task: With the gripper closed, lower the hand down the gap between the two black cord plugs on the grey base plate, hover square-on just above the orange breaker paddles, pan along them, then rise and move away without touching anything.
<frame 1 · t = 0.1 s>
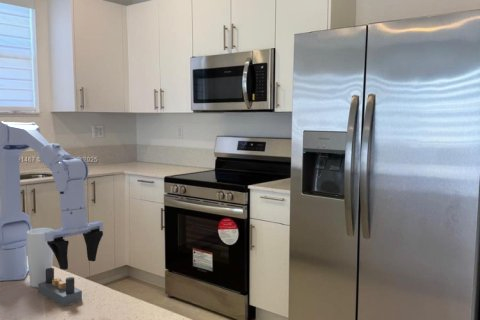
hand: (78, 264, 102), 10 cm above the counter, tool pointing down, fingers open, 7 cm apart
drinking glass: (40, 285, 115), on the counter
cord plug back: (49, 282, 111), point 2 cm above the counter, touching grey base plate
cord plug front: (70, 292, 105), point 2 cm above the counter, touching grey base plate
breaker paddles: (59, 283, 108), point 4 cm above the counter, hinge at 0.0°
grey base plate: (59, 296, 108), on the counter
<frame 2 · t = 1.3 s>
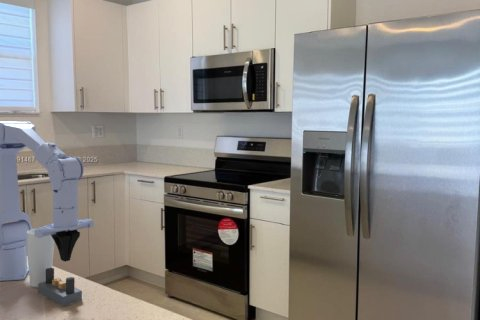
hand: (65, 260, 105), 10 cm above the counter, tool pointing down, fingers closed
nothing on the counter moved.
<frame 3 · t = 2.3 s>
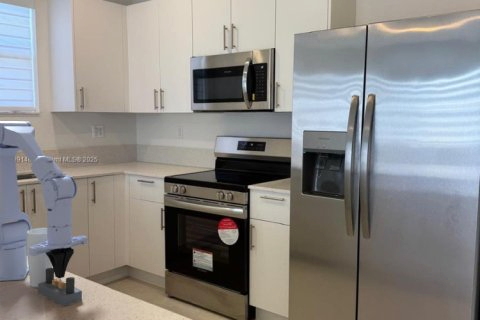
hand: (59, 276, 107), 5 cm above the counter, tool pointing down, fingers closed
nothing on the counter moved.
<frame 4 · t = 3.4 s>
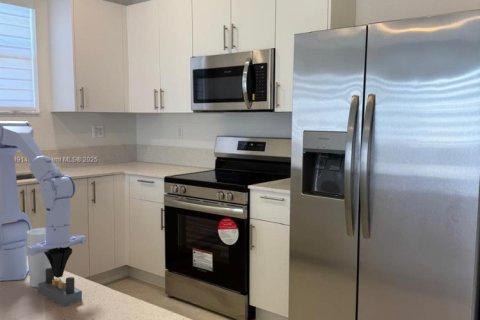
hand: (58, 276, 108), 5 cm above the counter, tool pointing down, fingers closed
nothing on the counter moved.
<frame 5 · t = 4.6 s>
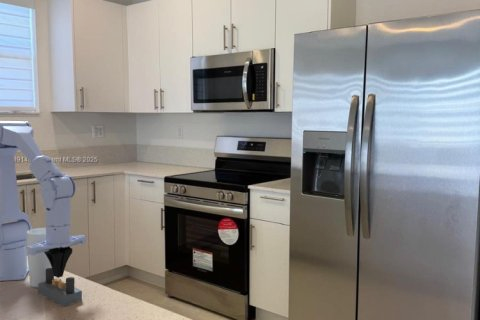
hand: (58, 276, 108), 5 cm above the counter, tool pointing down, fingers closed
nothing on the counter moved.
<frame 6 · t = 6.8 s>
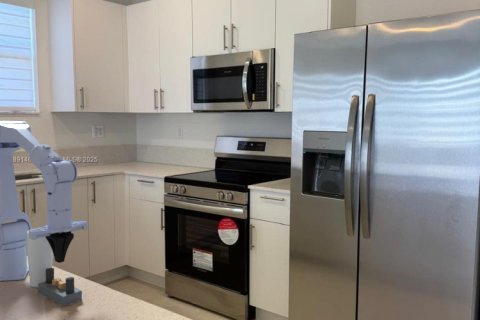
hand: (59, 261, 107), 9 cm above the counter, tool pointing down, fingers closed
nothing on the counter moved.
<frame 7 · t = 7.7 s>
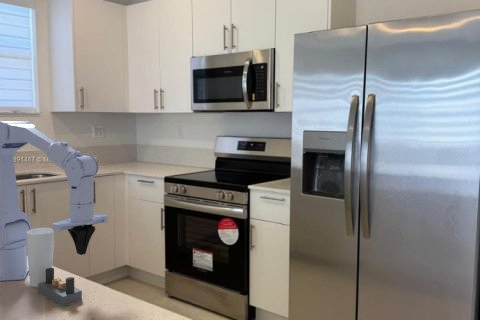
hand: (81, 253, 110), 10 cm above the counter, tool pointing down, fingers closed
nothing on the counter moved.
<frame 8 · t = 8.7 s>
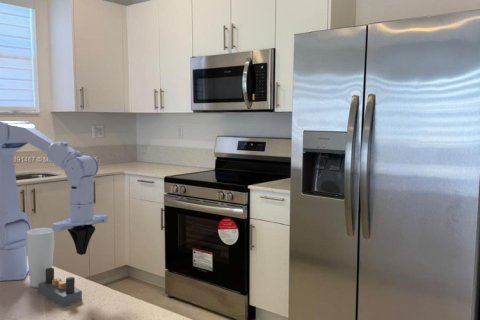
hand: (81, 253, 110), 10 cm above the counter, tool pointing down, fingers closed
nothing on the counter moved.
at the end: breaker paddles at +0° (first picture: +0°); cord plug front moved 0.0 cm from its start; cord plug back moved 0.0 cm from its start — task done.
